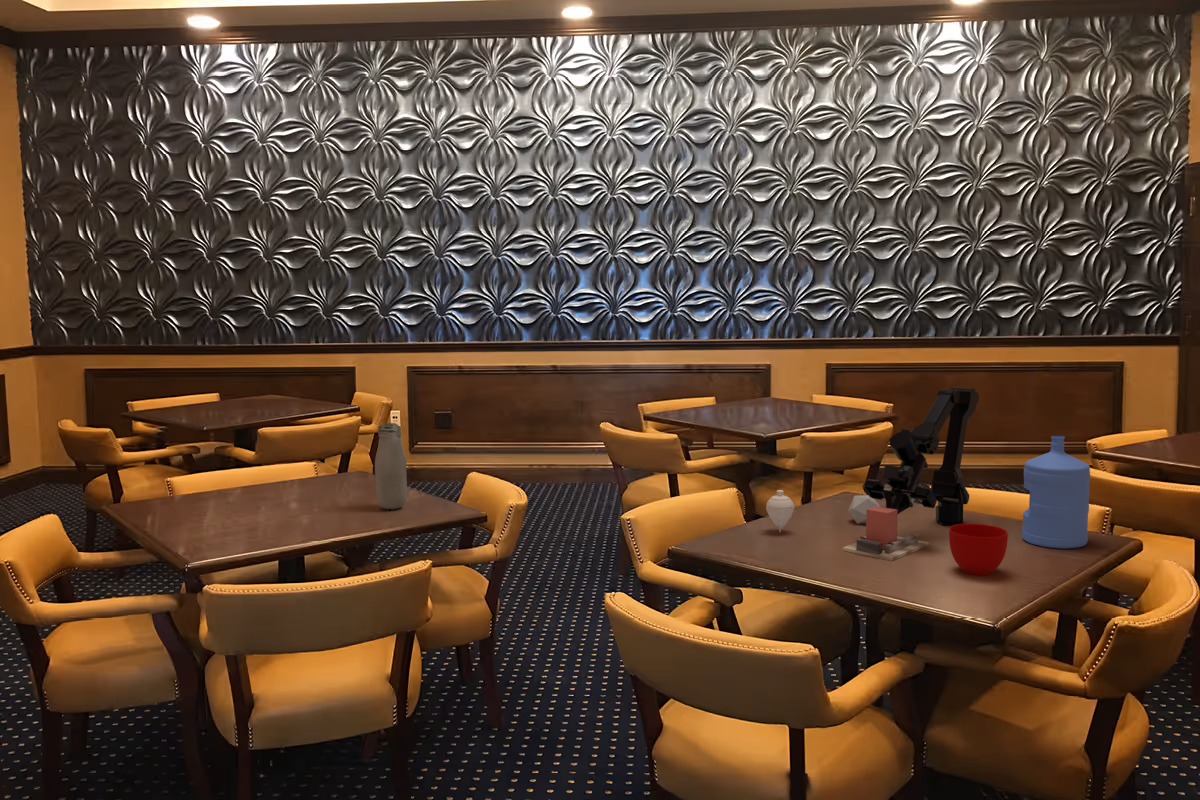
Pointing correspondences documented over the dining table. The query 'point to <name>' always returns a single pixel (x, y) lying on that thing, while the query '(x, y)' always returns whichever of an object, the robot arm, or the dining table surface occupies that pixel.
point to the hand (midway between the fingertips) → (887, 519)
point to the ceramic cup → (978, 547)
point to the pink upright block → (881, 525)
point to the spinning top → (780, 509)
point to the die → (861, 507)
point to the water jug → (1056, 499)
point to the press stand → (887, 547)
